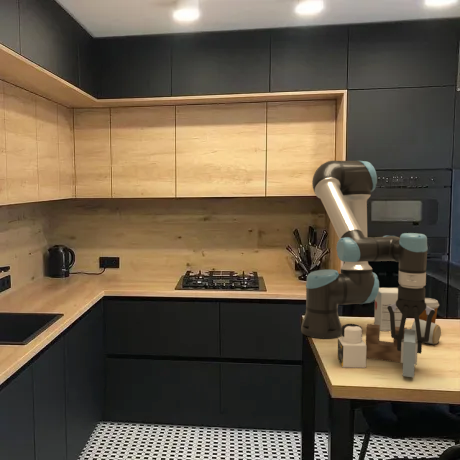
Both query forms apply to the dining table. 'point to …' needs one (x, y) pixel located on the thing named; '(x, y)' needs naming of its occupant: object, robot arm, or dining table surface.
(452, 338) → the dining table surface
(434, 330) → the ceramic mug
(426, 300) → the disposable coffee cup
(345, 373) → the dining table surface
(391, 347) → the walnut stand
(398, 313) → the supplement box
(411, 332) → the slate plate
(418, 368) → the dining table surface
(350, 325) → the medicine bottle
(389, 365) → the dining table surface
